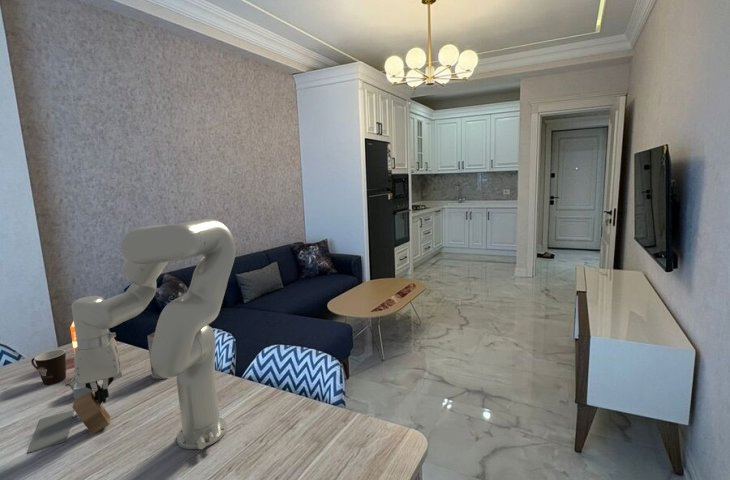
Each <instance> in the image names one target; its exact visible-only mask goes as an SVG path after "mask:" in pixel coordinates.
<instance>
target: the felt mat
mask: <svg viewBox="0 0 730 480" xmlns="http://www.w3.org/2000/svg"><path fill="white" fill-rule="evenodd" d="M74 413H75V410H74V409H72V410H69V411H66V412H61V413H57V414H55V415H49V416H48V417H46V416H45V417H44V418H43V417H42V418H40V419H39V423H38V424H37V428H36V430H35V433H34V435H33V439H32V440H31V443H30V445H29V448H28V451H27V454H31V453H35V452H37V451H40V450H44V449H47V448H50V447H54V446H57V445H61V444H64V443H67V441H68V436H69V433H70V428H71V425H72V420H73V416H74Z"/></svg>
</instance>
